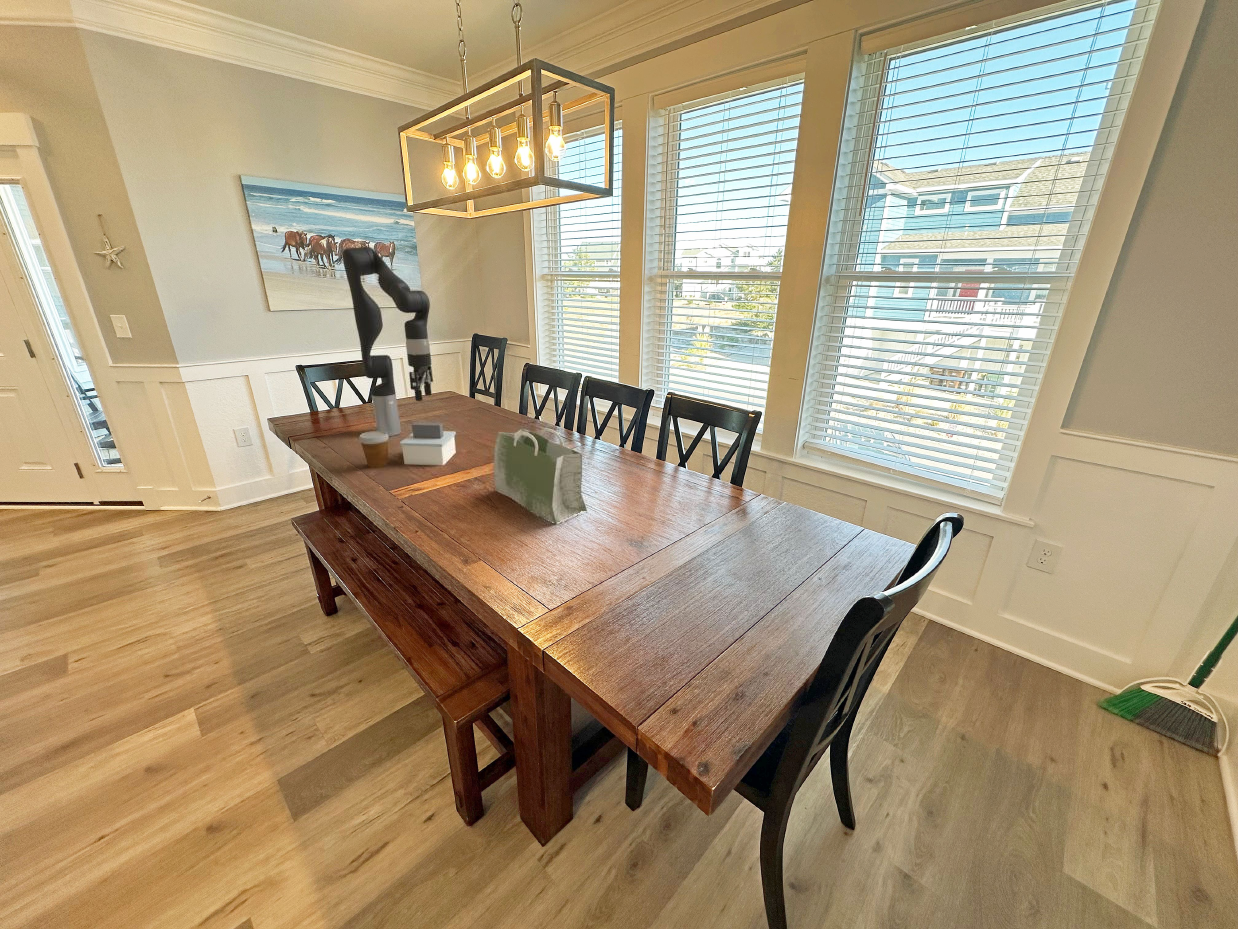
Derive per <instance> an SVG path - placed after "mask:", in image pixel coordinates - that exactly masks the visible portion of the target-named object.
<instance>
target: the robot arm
mask: <svg viewBox="0 0 1238 929" xmlns="http://www.w3.org/2000/svg"><path fill="white" fill-rule="evenodd" d="M342 263H343V266H344V267H343V268H344V270H345V275H346V279H347V281H348V282H347V283H348V286H349V290H350V295H351V300H352V306H353V312H354V313H353V314H354V319H355V325H356V330H357V334H358V338H359V343H360V352H361V353H360V354H361V361H362V368H363V369H362V370H363V373H364V376H365V377H366V378H367V379H384V381H382V382H381V383H380V384H377V385H374V386H372V387H371V388H370V395H371V400H372V408H373V413H374V420H375V426H376V431H384V432H386V433H387V435H388V436H389V437H393V436H397V435H400V434H401V423H400V416H399V415H400V414H399V408H398V402H397V394H396V393H397V392H396V387H395V380H394V367H393V360H392V358H391V357H390V355H388V354H378V355H376V354H375V355H374V354H373V355H371V353H372V349H373V345H374V344H375V342H376V341H377V339H378V338H379V336H380V334H381V332H382V330H383V327H384V323H383V322H384V321H383V317H382V316H383V315H382V310H381V308H380V306H379V305H378V304H377V302H376V301H375V300H374V298H372V297H371V296H370V294H369V293H367V291H366V290H365V288H364V286H363V284H362V280H361V277H362V276H369V275H374V274H376V275H378V276H377V277H378V278H377V281H378V284H379V286H380V289H381V290H382V291H383V292H384V293H385V294H387V295H388V296H389V297H390V298H391V299H392V302H394V304H395V306H396V307H395V308H397V310H399V311H400V312H402V313H406V314H414V317H413V318H411V319H409V320H406V321H405V322H404V324H403V325H404V335H405V347H406V355H407V356H406V357H407V358H406V359H407V364H408V367H412V368H413V370H412V371H409V372H408V373H409V374H408V375H409V382H410V384H409V385H410V389H411V390H413V391H414V398H415V399H414V400H415V401H416V402H422V401H423V390H422V389H424V395H425V396H431V395H432V387H431V385H432V383H434V378H433V370H432V357H431V348H430V346H431V345H430V341H429V336H428V319H429V313H430V308H431V302H430V298H429V295H428V293H426V292H425V291H423V290H411V287H410V286H409V285H408V284H407V283H406V282H405V281H404V280H403V279H402V278H401V277H399V276H398V275H396V274H395V273H394V272H393V270H391V268H390V267H389V265H388V264H387V263H386V262H385V261H384V260H383V258H382V257H381V256H380V255H379V253H378V252H376V251H375V249H373V248H372V247H369V246H360V247H351V248H345V249H344V250H343V251H342ZM422 387H423V388H422Z"/></svg>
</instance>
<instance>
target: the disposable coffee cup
mask: <svg viewBox="0 0 1238 929" xmlns="http://www.w3.org/2000/svg"><path fill="white" fill-rule="evenodd" d="M389 438H390V436H388V435H387V433H386V432H384V431H377V430H372V431H366V432H363V433H361V434H360V435H359V438H358V441H359V442H360V444H361V447H362V451H363V453H364V457H365V460H366V463H367V466H368V467H369V468H372V469H373V468H375V469H377V468H382V467H386V466H387V465H388V464H389Z"/></svg>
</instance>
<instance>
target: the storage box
mask: <svg viewBox="0 0 1238 929" xmlns="http://www.w3.org/2000/svg"><path fill="white" fill-rule="evenodd" d="M401 447H402V448H401V449H402V456H403V462H404V463H403V464H404V465H415V466H416V465H417V466H418V465H419V466H420V465H421V466H424V465H425V466H444V465H445V464H446V463H447V462H448V461H449V460H450V459H451V458H452V457H453V456H454V455H455V454H456V452H457V451H456V441H455V435H454V436H453V437H452V438H451V439H450V440H449V441H448V442H447V443H446V444H445V445H444V446H443V447H431V446H401Z"/></svg>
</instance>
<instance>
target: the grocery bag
mask: <svg viewBox="0 0 1238 929" xmlns="http://www.w3.org/2000/svg"><path fill="white" fill-rule="evenodd" d="M546 432H547V433H551V434H553V435H555V437H557V439H558V440H559V443H558V442H555V441H552V440H549V439H548V438H546V437H544V436H543V434H544V433H546ZM496 434H497V435H496V439H495V444H494V450H493V479H494V480H493V481H494V491H495V492H496V491H497V492H496V493H499V494H501V495H504V496H507V497H509V498H510V499H511V498H512V499H511V500H513V501H514V500H515V501H514V502H516V503H517V502H518V503H517V504H519V503H520V504H521V505H520V504H519V505H520V506H521V507H523V506H524V507H523V508H525V507H526V508H527V509H526V508H525V509H526V510H528V511H529V510H530V511H529V512H531V511H532V512H533V513H535V514H536V515H538V516H540V517H542V518H541V519H543V518H545V519H547V520H549V521H551V522H554V523H555V524H554V525H556V524H557V522H560V521H561V520H564V519H566V518H569V517H571V516H573V515H574V514H578V513H580V512H581V511H587V512H588V510H587V507H586V504H585V501H584V498H583V495H582V481H583V454H582V453H581V452H579V451H577V450H575V449H572V448H571V447H568V446H565V443H564V441H563V438H562V437H561V436H560V434H559V433H558V432H557V431H555V430H553V429H551V428H547V427H545V428H542V429H541V430H540V431H539V433H536V432H534V431H530V430H528V429H525V428H522V429H519V430H518V431H517V432H514V433H510V432H501V431H497V433H496ZM532 512H531V513H532ZM533 513H532V514H533ZM535 514H534V515H535ZM536 515H535V516H536ZM538 516H537V517H538ZM540 517H539V518H540ZM545 519H544V520H545ZM547 520H546V521H547ZM549 521H548V522H549ZM551 522H550V523H551ZM557 525H558V524H557Z"/></svg>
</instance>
